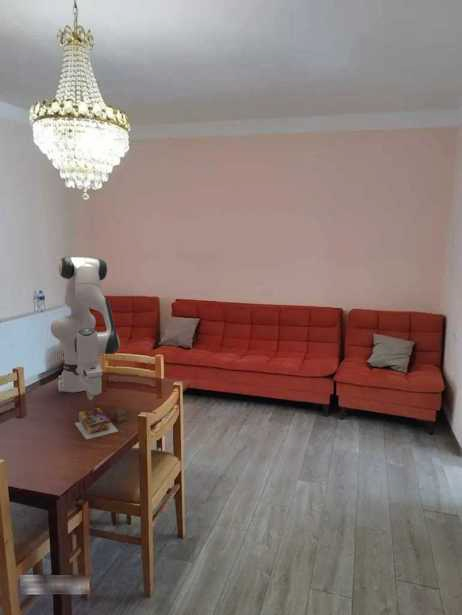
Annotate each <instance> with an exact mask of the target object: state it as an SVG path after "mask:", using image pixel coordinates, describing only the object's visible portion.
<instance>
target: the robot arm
mask: <svg viewBox="0 0 462 615" xmlns="http://www.w3.org/2000/svg"><path fill="white" fill-rule="evenodd" d="M58 273H59V275H60V276H61V277H62V278H63V279H66V287H65V296H64V303H65V305H66V306H67V307H68V308H70V314H69V315H65V316H64V315H63V316H60V317H58V318H57V319H55V320H53V321H52V322H51V324H50V333H51V335H52V336H53V337H54V338H55V339H57V340H58V341H59V343H60V344H61V346H62V349H63V350H62V351H63V357H64V362H63V371H62V372H61V375H58V381H57V387H58V388H57V389H58V390H57V391H58V392H66V393H79V392H83V391H84V392H85V391H86V397H87V399H88V400H89V401H91V400H93V399H94V396H97V395H100V394H101V393H102V383H103V381H102V376H103V370H102V367H101V364H100V357H99V355H114V354H115V353H116V352H118V350H120V346H121V343H120V337H119V335H118V333H117V329H116V324H115V319H114V317H113V312H112V309H111V303H110V302H109V299H108V297H106V296H104V295H103V293H102V290H101V281H103V280H105V279H106V277H107V274H108V265H107V262H106V261H105V260H103V259H100V258H99V259H96V258H92V257H81V256H80V257H78V256H77V257H76V256H74V257H73V256H72V257H71V256H64V257H62V258H61V259H60V261H59V264H58ZM90 309H92V310H94V311H97V312H99V313H101V315H102V317H103V321H104V325H105V328H106V330H105V331H98V332H97V330H96V329H95V327H96V323H97V321H96V318H95V316H94V314H92V313H91V311H90Z"/></svg>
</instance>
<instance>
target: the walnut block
mask: <svg viewBox="0 0 462 615" xmlns="http://www.w3.org/2000/svg"><path fill="white" fill-rule="evenodd" d="M112 420H113V421H114V422H115V421H116V422H117V423H121V422H123V421H125V420H127V410H125V409H122V408H119V409H116V410H113V411H112Z"/></svg>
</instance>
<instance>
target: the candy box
mask: <svg viewBox="0 0 462 615" xmlns="http://www.w3.org/2000/svg"><path fill="white" fill-rule="evenodd" d="M78 422H81V423H82V425H83V426H84V428H85V429H86V430H87V432H88V433H89V434H91V433H95V432H99V431H103V430H107V429H110V422H111V420H110V419H109V417H108V416H107V415H106V414H105V413H104V412H103V410H102V409H101V408H99V407H97V408H92V409H91V408H90V409H88V410H83V411H78Z"/></svg>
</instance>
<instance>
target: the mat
mask: <svg viewBox="0 0 462 615" xmlns="http://www.w3.org/2000/svg"><path fill="white" fill-rule="evenodd" d="M74 425H75V426H76V428H77V429H78V430H79V432H80V433H81V435H82V436H83V438H84V439H85V440H91V439H95V438H98V437H103V436H106V435H111V434H115V433H118V432H119V430H118V428H117V427H116V426H115V425H114V424H113V423H112V422H111V421H110V429H107V430H103V431H99V432H95V433H91V434H89V433H88V432H87V430H86V429H85V428H84V426H83V425H82V423H81V422H80V421H78V422H75V423H74Z"/></svg>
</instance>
